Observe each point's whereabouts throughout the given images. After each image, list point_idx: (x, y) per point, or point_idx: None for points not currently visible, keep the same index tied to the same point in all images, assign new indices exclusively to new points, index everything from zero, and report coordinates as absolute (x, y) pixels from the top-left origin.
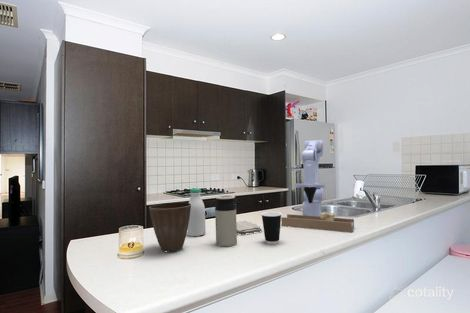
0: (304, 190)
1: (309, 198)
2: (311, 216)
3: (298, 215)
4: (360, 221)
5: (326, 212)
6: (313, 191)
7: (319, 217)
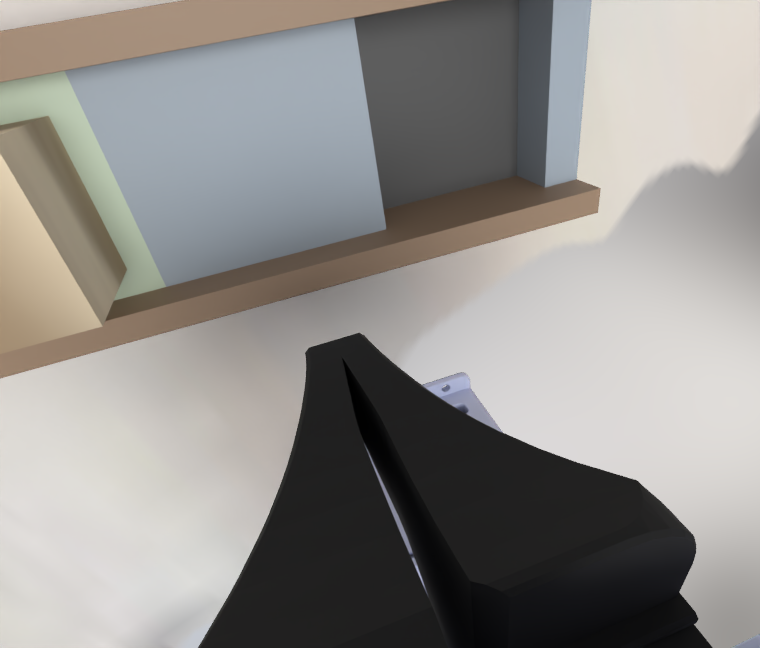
0: (610, 481)
1: (362, 390)
2: (297, 268)
3: (463, 224)
4: (9, 593)
5: (38, 341)
6: (226, 603)
7: (190, 294)
